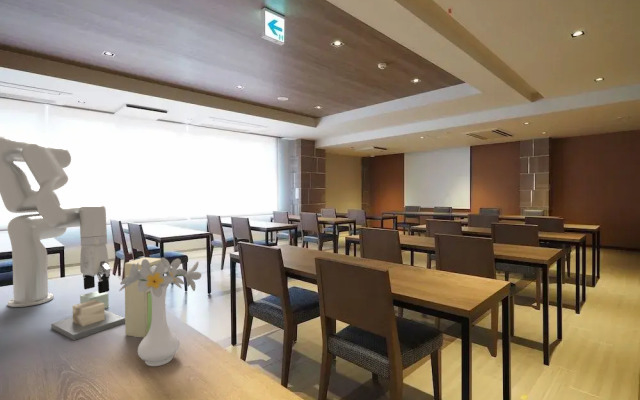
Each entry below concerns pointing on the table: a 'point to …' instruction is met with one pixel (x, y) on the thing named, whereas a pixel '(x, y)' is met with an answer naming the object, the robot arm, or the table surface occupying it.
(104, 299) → the sage block
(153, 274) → the flower vase
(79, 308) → the birch block
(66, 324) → the base plate
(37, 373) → the table surface
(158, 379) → the table surface
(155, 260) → the toy refrigerator
